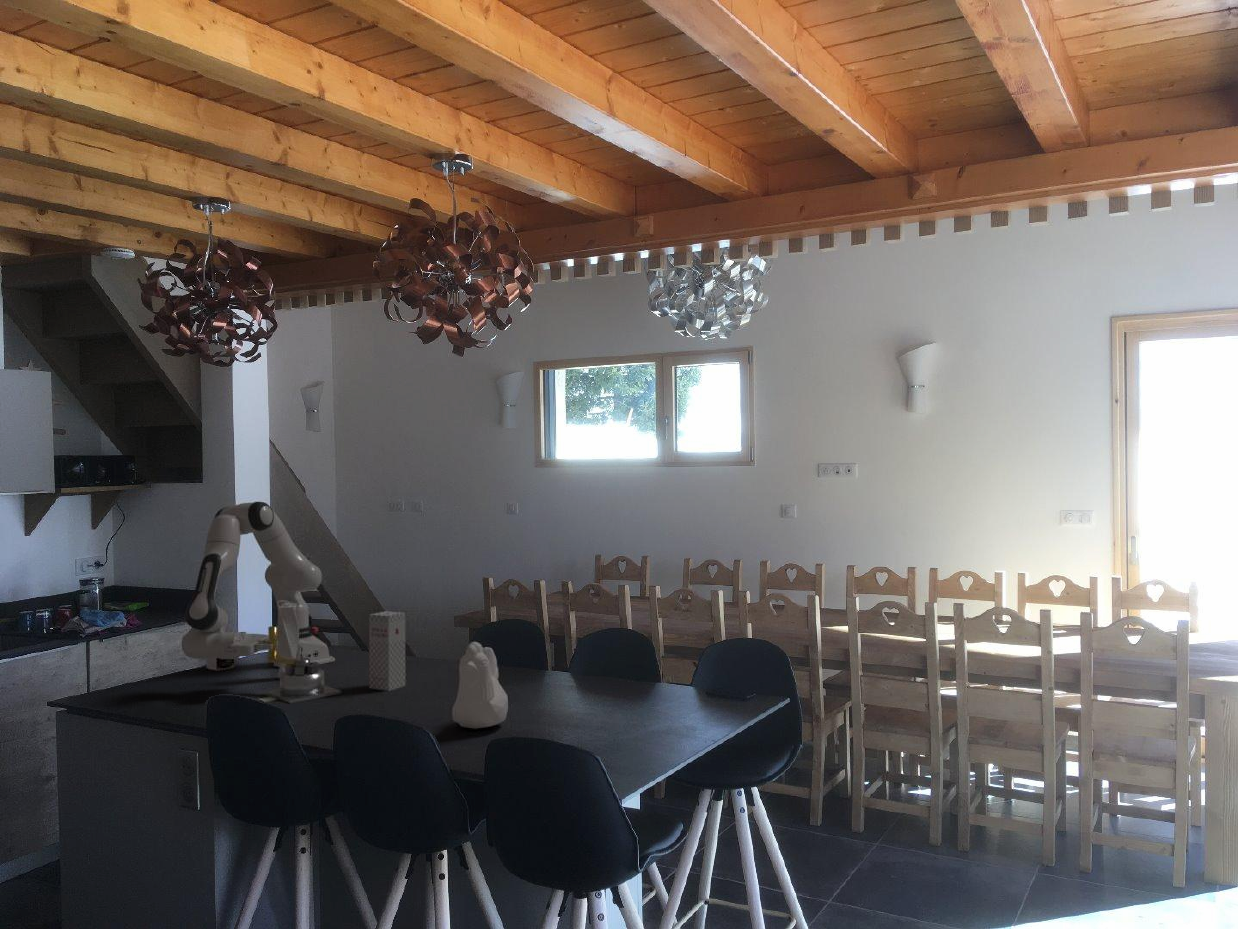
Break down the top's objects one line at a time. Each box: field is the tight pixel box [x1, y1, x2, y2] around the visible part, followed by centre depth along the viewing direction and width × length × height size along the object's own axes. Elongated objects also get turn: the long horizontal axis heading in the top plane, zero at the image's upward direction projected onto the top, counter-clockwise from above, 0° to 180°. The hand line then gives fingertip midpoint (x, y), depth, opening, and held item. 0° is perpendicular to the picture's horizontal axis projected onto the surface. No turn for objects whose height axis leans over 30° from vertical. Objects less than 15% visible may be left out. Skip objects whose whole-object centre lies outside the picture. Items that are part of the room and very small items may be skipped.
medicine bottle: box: [206, 658, 235, 672], centre depth 366 cm, size 7×7×12 cm
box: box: [368, 610, 406, 692], centre depth 334 cm, size 8×8×25 cm
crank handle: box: [267, 625, 320, 675], centre depth 326 cm, size 18×10×14 cm, turn 69°
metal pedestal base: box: [262, 668, 342, 704], centre depth 324 cm, size 18×18×7 cm
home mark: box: [258, 696, 277, 703], centre depth 316 cm, size 4×4×1 cm
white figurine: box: [451, 641, 509, 729], centre depth 286 cm, size 25×16×25 cm, turn 159°
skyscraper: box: [276, 600, 304, 680], centre depth 349 cm, size 8×8×28 cm
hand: (274, 645), depth 328 cm, fingers open, 4 cm apart
